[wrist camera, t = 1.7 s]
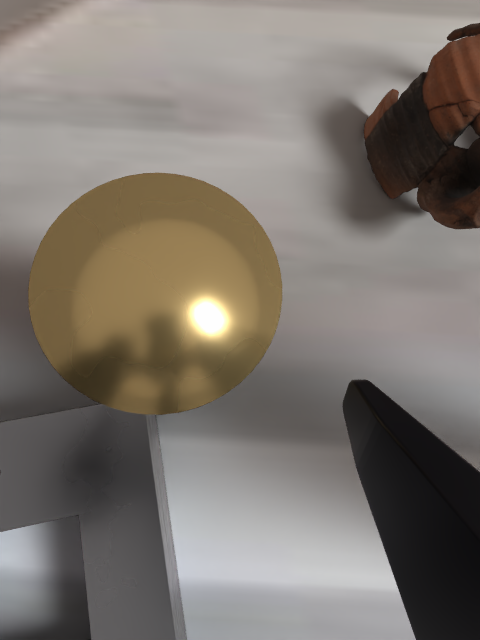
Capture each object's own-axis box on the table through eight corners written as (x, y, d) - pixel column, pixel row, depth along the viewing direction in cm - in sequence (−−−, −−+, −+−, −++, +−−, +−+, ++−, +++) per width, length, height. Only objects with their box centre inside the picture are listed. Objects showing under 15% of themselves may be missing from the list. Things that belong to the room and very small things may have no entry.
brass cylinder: (238, 384, 18) (304, 388, 7) (147, 401, 18) (40, 438, 6) (223, 298, 19) (258, 161, 7) (135, 311, 18) (17, 186, 7)
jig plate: (197, 714, 16) (196, 791, 13) (-106, 806, 14) (-187, 919, 11) (152, 394, 18) (143, 396, 15) (-115, 443, 16) (-185, 456, 13)
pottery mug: (353, 81, 23) (499, -59, 17) (434, 164, 27) (573, 79, 21) (352, 227, 18) (562, 104, 11) (451, 300, 22) (643, 241, 16)
